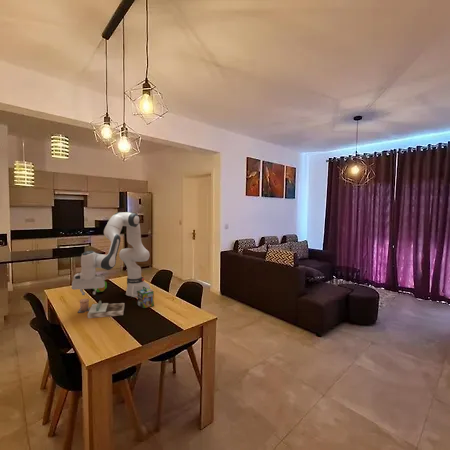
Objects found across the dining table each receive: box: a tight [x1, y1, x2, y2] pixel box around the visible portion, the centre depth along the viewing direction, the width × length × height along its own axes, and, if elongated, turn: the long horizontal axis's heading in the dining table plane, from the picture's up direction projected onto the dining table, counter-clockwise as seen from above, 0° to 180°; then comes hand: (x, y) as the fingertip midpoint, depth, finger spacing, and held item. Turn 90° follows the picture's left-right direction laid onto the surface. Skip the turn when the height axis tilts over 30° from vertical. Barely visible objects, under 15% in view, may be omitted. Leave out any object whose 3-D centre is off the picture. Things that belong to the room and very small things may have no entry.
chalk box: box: [137, 287, 155, 309], centre depth 201 cm, size 9×9×15 cm
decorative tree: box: [92, 281, 108, 293], centre depth 234 cm, size 11×12×30 cm
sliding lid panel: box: [88, 300, 109, 313], centre depth 185 cm, size 10×15×3 cm
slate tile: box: [77, 306, 91, 314], centre depth 189 cm, size 7×7×1 cm
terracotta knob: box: [79, 298, 90, 312], centre depth 189 cm, size 6×6×7 cm
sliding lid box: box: [87, 302, 125, 319], centre depth 186 cm, size 22×15×4 cm
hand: (88, 294), depth 182 cm, fingers open, 5 cm apart
